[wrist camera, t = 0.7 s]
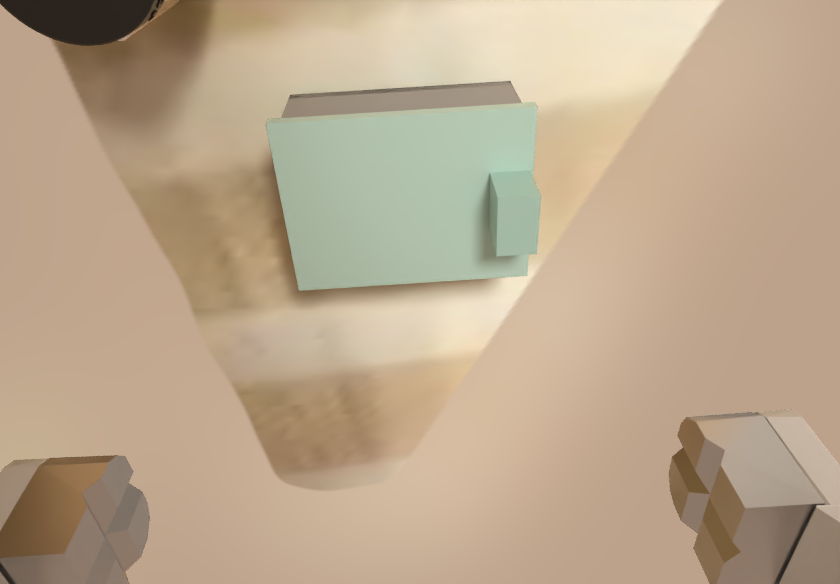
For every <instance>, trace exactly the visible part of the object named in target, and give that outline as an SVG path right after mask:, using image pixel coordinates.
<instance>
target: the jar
mask: <svg viewBox="0 0 840 584" xmlns="http://www.w3.org/2000/svg"><path fill="white" fill-rule="evenodd" d="M178 1H179V0H0V4H1V5H2V6H3V7H4V8H5V9H6V10H7V11H8V12H9V13H11V14H12V15H13V16H14V17H16V18H17V19H18V20H19V21H21V22H22V23H24V24H25V25H27V26H28V27H30V28H32V29H33V30H35V31H37V32H39V33H41V34H43V35H45V36H47V37H50V38H52V39H55V40H58V41H61V42H64V43H69V44H74V45H84V46H94V45H103V44H108V43H111V42H115V41H117V40H118V41H125V40H126V39H128V38H129V37H130V36H132V35H133V34H134V33H136V32H137V31H139V30H140V29H142V28H143V27H144V26H146V25H147V24H149V23H150V22H151V21H153V20H154V19H156V18H157V17H158V16H160V15H161V14H163V13H164V12H165V11H167V10H168V9H170V8H171V7H173V6H174V5H175V4H176V3H177V2H178Z"/></svg>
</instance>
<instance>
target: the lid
mask: <svg viewBox="0 0 840 584" xmlns="http://www.w3.org/2000/svg"><path fill="white" fill-rule="evenodd" d="M536 123H537V105H536V103H535V102H530V103H514V104H498V105H483V106H467V107H451V108H435V109H420V110H404V111H388V112H372V113H356V114H341V115H325V116H309V117H293V118H278V119H268V120H267V122H266V129H267V134H268V139H269V144H270V149H271V154H272V159H273V164H274V169H275V174H276V179H277V184H278V189H279V194H280V199H281V204H282V209H283V214H284V219H285V224H286V229H287V234H288V239H289V244H290V249H291V254H292V259H293V264H294V269H295V274H296V279H297V284H298V289H299V291H303V290H318V289H334V288H349V287H365V286H380V285H395V284H411V283H426V282H441V281H457V280H472V279H488V278H503V277H518V276H527V272H528V255H529V254H537V245H538V231H539V216H540V202H541V194H540V192H539V190H538V187H537V185H536V183H535V181H534V179H533V173H534V156H535V140H536Z"/></svg>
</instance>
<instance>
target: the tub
mask: <svg viewBox="0 0 840 584" xmlns="http://www.w3.org/2000/svg"><path fill="white" fill-rule="evenodd" d="M514 103H522V102H521V100H520V99H519V97H518V95H517V93H516V91H515V89H514V87H513V86H512V84H511V82H510V81H504V82H489V83H473V84H457V85H441V86H425V87H410V88H394V89H378V90H362V91H346V92H330V93H315V94H299V95H290V97H289V100H288V102H287V105H286V107H285V110H284V112H283V115H282V117H281V118H293V117H309V116H325V115H341V114H356V113H372V112H388V111H404V110H420V109H435V108H451V107H467V106H483V105H498V104H514Z"/></svg>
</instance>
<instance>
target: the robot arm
mask: <svg viewBox="0 0 840 584" xmlns="http://www.w3.org/2000/svg"><path fill="white" fill-rule="evenodd" d="M678 438H679V439H680V442H681V444H682V446H683V448H682V449H681V450H679V451H678V452H677V453H676V454H675V455H674V456H672V460H671V465H670V470H669V482H670V492H671V495H672V499H673V503H674V506H675V508H676V510H677V513H678V515H679V517H680V520H681V521H682V522H684V523H685V524H686V525H687V526H689V527H690V528H691V529H693V530H694V531H695V532H697V533H698V535H697V538H696V541H695V545H694V550H695V553H696V555H697V557H698V559H699V561H700V563H701V566H702V568H703V570H704V572H705V574H706V576H707V578H708V581H709V583H710V584H840V465H839V464H838V463H837V461H836V460H835V459H834V458H833V456H832V455H831V454H830V452H829V451H828V450H827V448H826V447H825V446H824V445H823V443H822V442H821V441H820V439H819V438H818V437H817V436H816V434H815V433H814V432H813V430H812V429H811V428H810V427H809V425H808V424H807V423H806V422H805V420H804V419H803V418H802V416H801V415H800V414H798V413H797V412H795V411H793V410H778V411H764V412H755V413H752V412H747V413H735V414H722V415H708V416H696V417H686V418H685V419H684V421H683V422H682V423H681V425H680V429H679V432H678ZM132 473H133V470H132V468H131V467H130V465H129V463H128V461H127V459H126V457H125V456H117V455H114V456H92V457H91V456H90V457H65V458H49V459H31V460H14V461H13V462H11V463H10V464H8V465H7V466H5V467H4V468H3V469H2V471H1V472H0V584H129V581H128V578H127V576H126V573H125V571H126V570H127V569H129V568H130V567H131V566H132V565H133V564H134V563H135V562H136V561H137V560H138V559H139V558H140V557H141V555H142V552H143V550H144V547H145V544H146V541H147V537H148V528H149V519H150V516H149V510H148V505H147V501H146V499H145V497H144V494H143V492H142V491H140V490H139V489H137V488H136V487H134V486H132V485H131V484H129V480H130V478H131V476H132Z"/></svg>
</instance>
